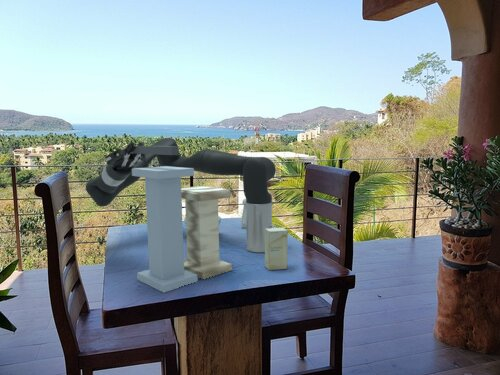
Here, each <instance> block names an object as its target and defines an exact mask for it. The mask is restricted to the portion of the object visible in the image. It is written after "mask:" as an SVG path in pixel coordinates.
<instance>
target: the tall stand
mask: <svg viewBox="0 0 500 375" xmlns="http://www.w3.org/2000/svg"><path fill="white" fill-rule="evenodd" d="M132 176H138V177H140V178H144V180H145V181H144V183H145V184H144V187H145V208H146V227H147V228H146V229H147V244H148V246H147V248H148V269H146V270H141V271H139V272H137V273H136V276H137V281H140V282H142V283H144V284H146V285H147V286H150V287H152V288H153V289H156V290H157V291H159V292H161V293H164V294H165V293H167V292H169V291H172V290H173V291H174V290H175V289H179V287H180V288H182V287H181V286H183V287H185V286H184V285H186V286H188V284H189V285H192V284H194V282H195V283H198V282H197V281H198V277H197V274H194V273H192V272H189V271H187V270H184V260H185V256H184V255H185V254H184V232H183V228H184V227H183V206H182V205H183V204H182V199H183V198H181V188H182V179H181V178H184V177H185V178H186V177H193V176H195V171H194V168H182V167H169V166H151V167H150V166H148V167H147V168H133V169H132ZM191 283H192V284H191Z"/></svg>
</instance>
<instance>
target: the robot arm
mask: <svg viewBox="0 0 500 375" xmlns="http://www.w3.org/2000/svg"><path fill="white" fill-rule="evenodd" d="M126 146H127V147H126V148H125V147H123V149H121V148H118V149H115V151H112V152H111V153H109V154H108V155H106V156H104V158H105V162H106V165H105V166H104V168H103V170H102V171H101V173H100V174H99V175H98V176H97V177H94V178H91V179H90V180H89V181H87V183H85V191H86V192H87V194H88V195H89V197H90V198H91V199H92V200H93V202H94V203H95V204H96V205H97V206H98V207H100V208H103V207H104V208H105V207H107V206H108V205H110V204H111V203H112V202H113V201H114V200H115V199H116V197H117V196H118V195H119V194H120V193H121V192H122V191H124V190H125V189H126V188H128V187H129V186H131V185H133V184H134V183H136V182H137V181H138V180H140V179H141V177H138V176H132V169H133V168H148V167H149V165H150V164H151V163H152V161H153V160H154V159H155V158H156V159H157V162H158V164H159V167H162V166H169V167H182V168H194V172H198V173H204V174H208V175H215V176H241V177H242V186H243V194H244V197H245V199H246V228H245V229H246V251H248V252H252V253H265V229H268V228H273V196H272V194H271V193H270V192H269V191H268V190H269V189H268V182H269V181H270V180H272V179H273V178H274V177H275V175H276V172H277V168H276V166H275V163H274V162H273V161H272V160H271V159H270V158H268V157H265V156H247V155H245V156H244V155H239V154H236V153H235V154H234V153H232V152H231V153H230V152H226V151H221V150H215V149H210V148H203V149H200V150H198V151H197V152H195V153H193V154H192V155H190V156H182V155H181V154H180V152H179V155H158V154H135V153H132V152H133V151H134V149H135V146H145V144H144V142H143V141H139V142H138V144H137V145H136V144H135V142H134V141H131V142H130V143H128V144H127V145H126ZM151 146H178V144H177V141H176V139H175V138H172V137H165V138H161V139H159V140H157V141H156V142H155V143H153V144H151Z"/></svg>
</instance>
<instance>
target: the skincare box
mask: <svg viewBox="0 0 500 375" xmlns="http://www.w3.org/2000/svg"><path fill="white" fill-rule="evenodd" d="M288 232H289V230H288V229H287V228H284V227H272V228H268V229H265V252H264V267H265V268H266V269H267V270H268V271H275V270H276V271H277V270H284V269H285V270H286V269H288Z"/></svg>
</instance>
